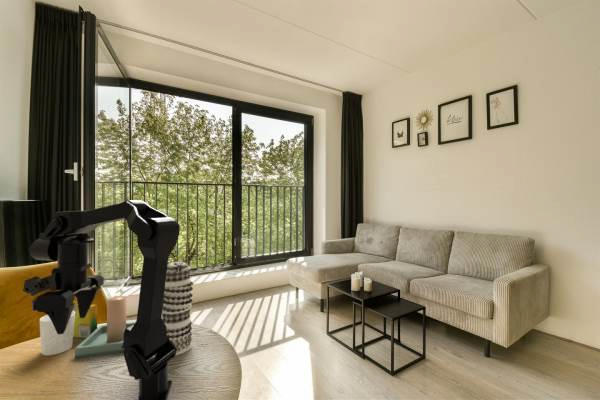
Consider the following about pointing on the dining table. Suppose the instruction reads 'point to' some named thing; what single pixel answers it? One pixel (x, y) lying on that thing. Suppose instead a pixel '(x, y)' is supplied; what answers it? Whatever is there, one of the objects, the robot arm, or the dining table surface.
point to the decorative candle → (178, 305)
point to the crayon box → (85, 322)
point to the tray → (99, 343)
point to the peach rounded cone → (116, 318)
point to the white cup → (56, 336)
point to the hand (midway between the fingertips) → (72, 325)
